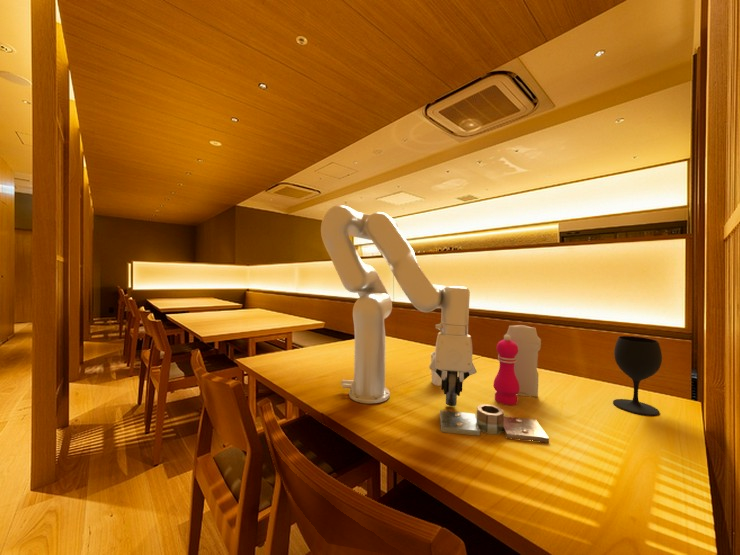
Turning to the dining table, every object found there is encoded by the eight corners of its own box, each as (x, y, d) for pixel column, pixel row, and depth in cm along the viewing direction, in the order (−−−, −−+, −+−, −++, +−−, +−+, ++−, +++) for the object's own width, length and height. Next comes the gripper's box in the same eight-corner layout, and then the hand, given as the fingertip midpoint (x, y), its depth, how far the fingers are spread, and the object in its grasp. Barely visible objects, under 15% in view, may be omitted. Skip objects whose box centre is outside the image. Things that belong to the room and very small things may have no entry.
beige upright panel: (539, 394, 99) (541, 325, 98) (539, 399, 95) (541, 327, 95) (503, 388, 104) (504, 322, 103) (501, 392, 100) (503, 324, 100)
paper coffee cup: (452, 381, 109) (453, 353, 109) (446, 388, 103) (447, 358, 103) (434, 378, 113) (435, 350, 112) (427, 383, 107) (428, 355, 107)
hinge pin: (445, 405, 88) (447, 370, 88) (445, 400, 91) (446, 367, 90) (456, 406, 87) (458, 371, 87) (455, 402, 90) (457, 368, 90)
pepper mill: (522, 407, 90) (523, 338, 89) (495, 404, 91) (497, 336, 90) (515, 397, 97) (517, 333, 96) (491, 395, 98) (492, 331, 98)
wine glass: (651, 404, 93) (653, 337, 92) (666, 419, 83) (669, 345, 83) (608, 397, 97) (610, 334, 97) (618, 411, 88) (620, 340, 87)
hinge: (441, 431, 75) (441, 413, 75) (439, 414, 84) (440, 398, 84) (548, 443, 71) (549, 423, 71) (535, 423, 80) (535, 406, 80)
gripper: (424, 329, 86) (422, 395, 87) (486, 334, 83) (483, 402, 84) (425, 325, 94) (422, 385, 94) (482, 328, 91) (479, 391, 91)
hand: (451, 392), depth 89 cm, fingers closed on hinge pin, 3 cm apart
